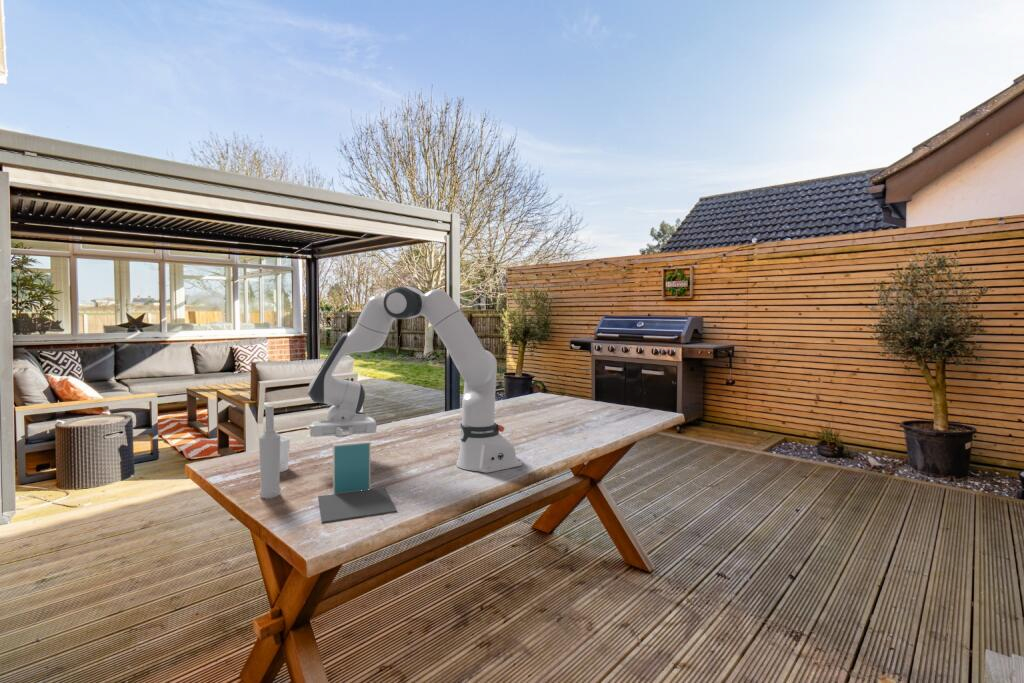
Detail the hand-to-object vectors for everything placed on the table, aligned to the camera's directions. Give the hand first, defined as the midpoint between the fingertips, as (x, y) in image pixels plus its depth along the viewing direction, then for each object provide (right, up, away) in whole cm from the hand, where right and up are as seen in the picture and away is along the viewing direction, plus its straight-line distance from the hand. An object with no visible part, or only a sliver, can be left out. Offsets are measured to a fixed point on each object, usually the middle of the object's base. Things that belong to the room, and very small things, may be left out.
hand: (346, 433), depth 148 cm
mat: (+10, -15, -21) cm, 27 cm away
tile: (+6, -14, -11) cm, 19 cm away
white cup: (-24, -13, +6) cm, 28 cm away
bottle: (-16, -14, -16) cm, 26 cm away
